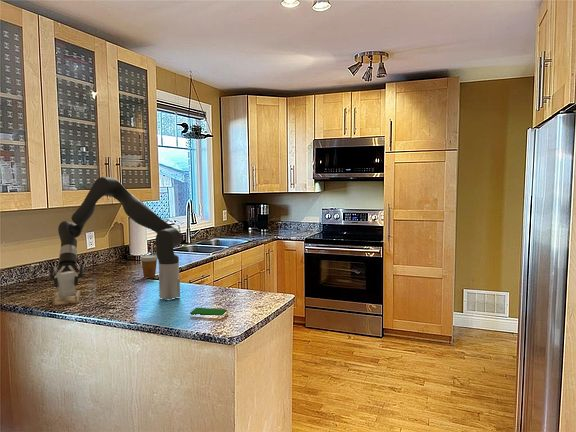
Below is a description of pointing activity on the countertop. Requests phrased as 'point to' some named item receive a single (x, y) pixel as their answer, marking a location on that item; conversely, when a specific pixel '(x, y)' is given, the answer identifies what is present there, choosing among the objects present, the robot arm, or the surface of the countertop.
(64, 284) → the skincare box
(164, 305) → the countertop surface
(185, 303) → the countertop surface
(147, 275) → the disposable coffee cup
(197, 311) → the dish sponge
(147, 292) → the countertop surface
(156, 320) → the countertop surface
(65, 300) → the u-shaped wooden frame
